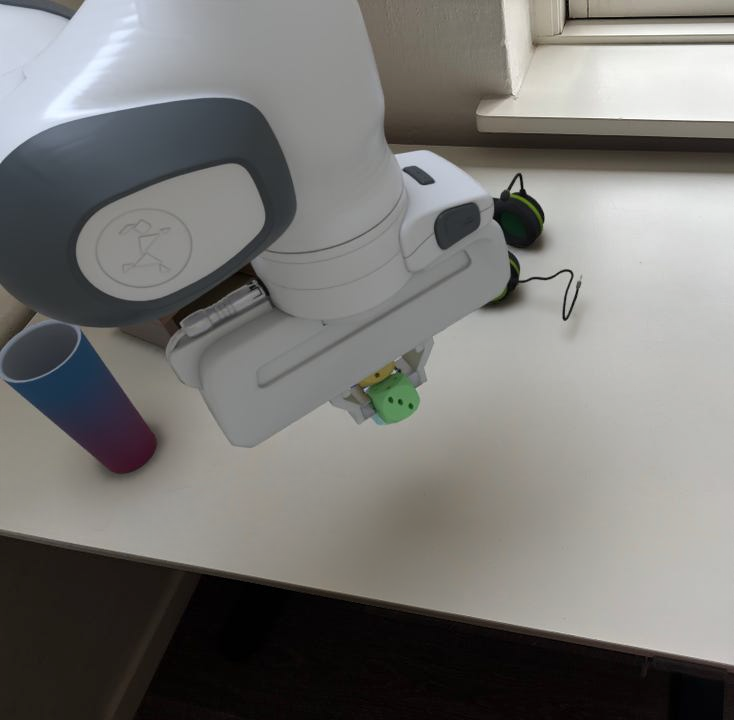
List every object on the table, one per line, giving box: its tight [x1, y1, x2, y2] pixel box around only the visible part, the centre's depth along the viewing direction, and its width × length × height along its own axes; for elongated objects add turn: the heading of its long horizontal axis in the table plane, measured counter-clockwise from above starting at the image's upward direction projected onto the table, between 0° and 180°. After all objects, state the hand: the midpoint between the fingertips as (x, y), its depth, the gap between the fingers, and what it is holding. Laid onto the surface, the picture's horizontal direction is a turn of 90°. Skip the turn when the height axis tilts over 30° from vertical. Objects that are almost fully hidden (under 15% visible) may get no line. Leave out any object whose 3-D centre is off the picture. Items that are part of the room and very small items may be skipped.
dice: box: [350, 360, 421, 426], centre depth 49 cm, size 8×3×6 cm, turn 37°
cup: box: [0, 318, 157, 474], centre depth 63 cm, size 7×7×15 cm
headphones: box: [487, 172, 583, 322], centre depth 75 cm, size 16×10×20 cm
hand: (388, 397), depth 49 cm, fingers closed on dice, 3 cm apart
